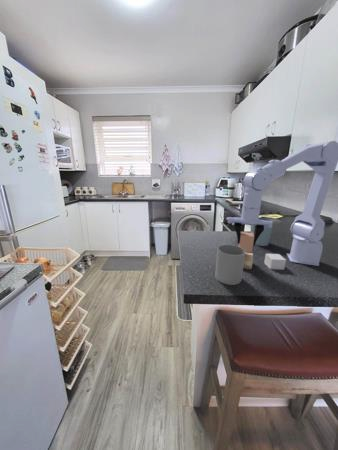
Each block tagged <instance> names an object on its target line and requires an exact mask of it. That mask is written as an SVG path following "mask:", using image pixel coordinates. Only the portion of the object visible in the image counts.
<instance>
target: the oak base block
mask: <svg viewBox="0 0 338 450" xmlns="http://www.w3.org/2000/svg"><path fill="white" fill-rule="evenodd" d="M253 262H254V253H253V252H245V259H244V266H243V269H246V270H252V269H253Z"/></svg>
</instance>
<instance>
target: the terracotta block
mask: <svg viewBox="0 0 338 450" xmlns="http://www.w3.org/2000/svg"><path fill="white" fill-rule="evenodd" d="M253 242H254V234H253V233H250V232H246V231H241V234H240V244H238V245H237V246H238V247H241V248H242V249H244V250H245V252H246V253H253V249H254V246H253Z"/></svg>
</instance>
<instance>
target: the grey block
mask: <svg viewBox="0 0 338 450" xmlns="http://www.w3.org/2000/svg"><path fill="white" fill-rule="evenodd" d="M263 263H264V264H265V265H266V266H267V268H268V269H270V270H282V271H283V270H284V271H285V267H286V263H287V259H286V258H284V256H282V255H281V254H280V253H265V255H264V261H263Z"/></svg>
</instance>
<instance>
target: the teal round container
mask: <svg viewBox="0 0 338 450" xmlns="http://www.w3.org/2000/svg"><path fill="white" fill-rule="evenodd" d="M259 219H261V220H267V221H272V222H273V223H272V228H270V227H265V226H264V231H263V232H262V233H261V234H260V236H259V237H258V239H257V241H256V243H255V246H257V247H268V246H269V243H270V240H271V239H270V238H271V235H272V231H273V226H274V222H275V221H274V220H273V219H271V218H265V217H259ZM254 230H255V225H250V232H249V233H253V234H254Z"/></svg>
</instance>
